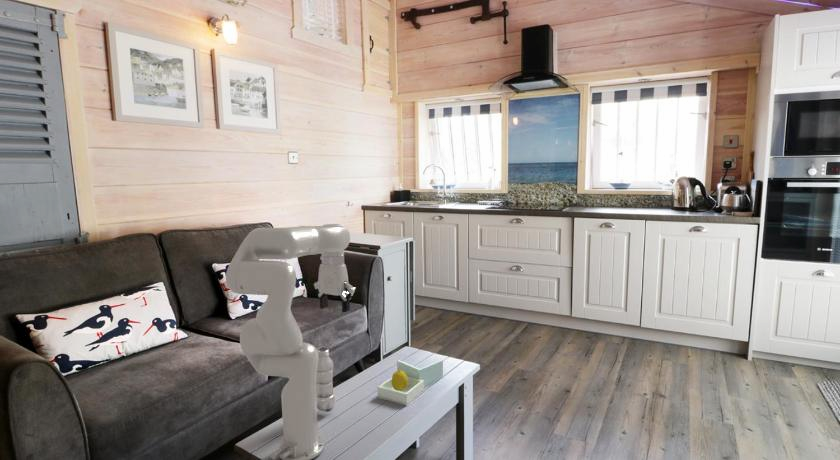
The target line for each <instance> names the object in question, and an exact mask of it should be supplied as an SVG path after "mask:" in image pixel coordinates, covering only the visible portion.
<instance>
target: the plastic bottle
mask: <svg viewBox="0 0 840 460" xmlns="http://www.w3.org/2000/svg"><path fill="white" fill-rule="evenodd" d="M317 351H318V364H317V372H316V402H317V411H318V410H319V411H330V410H331V409H333V408H334V406H335V404H336V397H335V392H334V386H333V385H334V384H333V377H334V376H333V375H334V374H333V373H334V362H333V360H332V358H331V357H330V356H329V355H330V349H329V348H328V347H320V348H317Z"/></svg>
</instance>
